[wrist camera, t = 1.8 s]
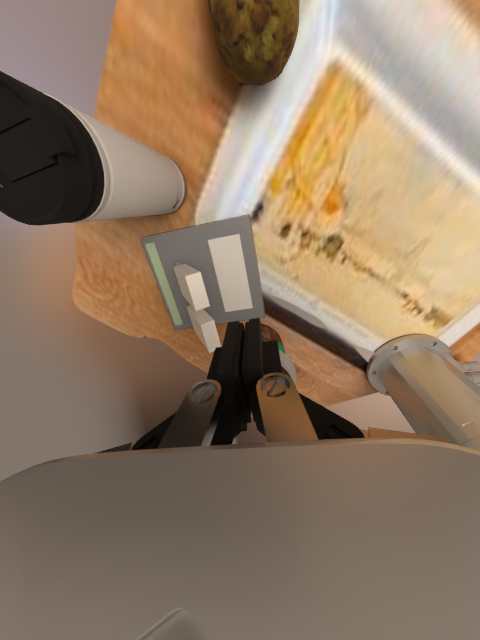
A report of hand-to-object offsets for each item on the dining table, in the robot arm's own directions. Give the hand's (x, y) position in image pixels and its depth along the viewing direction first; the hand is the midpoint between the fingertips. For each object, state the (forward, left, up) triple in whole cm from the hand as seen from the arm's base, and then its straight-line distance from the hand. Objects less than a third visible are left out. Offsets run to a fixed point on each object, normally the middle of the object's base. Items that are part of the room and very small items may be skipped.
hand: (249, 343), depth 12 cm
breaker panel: (+7, +1, -22) cm, 23 cm away
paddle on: (+10, 0, -18) cm, 20 cm away
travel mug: (+10, -11, -22) cm, 26 cm away
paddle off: (+10, +6, -18) cm, 21 cm away
